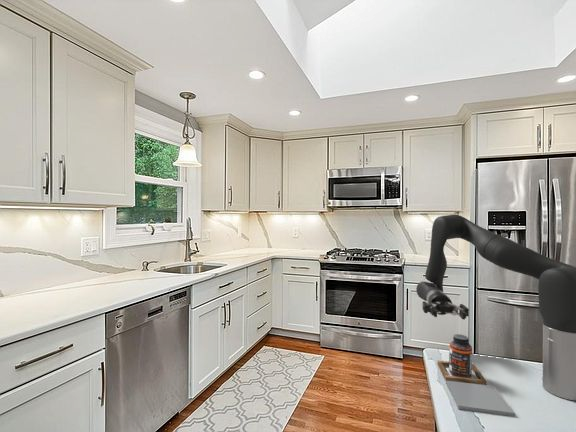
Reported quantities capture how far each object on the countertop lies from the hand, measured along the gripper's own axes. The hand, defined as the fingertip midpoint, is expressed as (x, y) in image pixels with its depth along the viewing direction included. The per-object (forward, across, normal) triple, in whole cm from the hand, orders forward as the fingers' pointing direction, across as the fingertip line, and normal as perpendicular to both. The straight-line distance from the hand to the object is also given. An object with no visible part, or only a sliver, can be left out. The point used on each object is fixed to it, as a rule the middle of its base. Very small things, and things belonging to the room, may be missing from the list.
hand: (449, 315), depth 105 cm
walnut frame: (+12, 0, +14) cm, 18 cm away
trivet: (+24, +1, +14) cm, 28 cm away
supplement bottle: (+12, 0, +14) cm, 18 cm away
